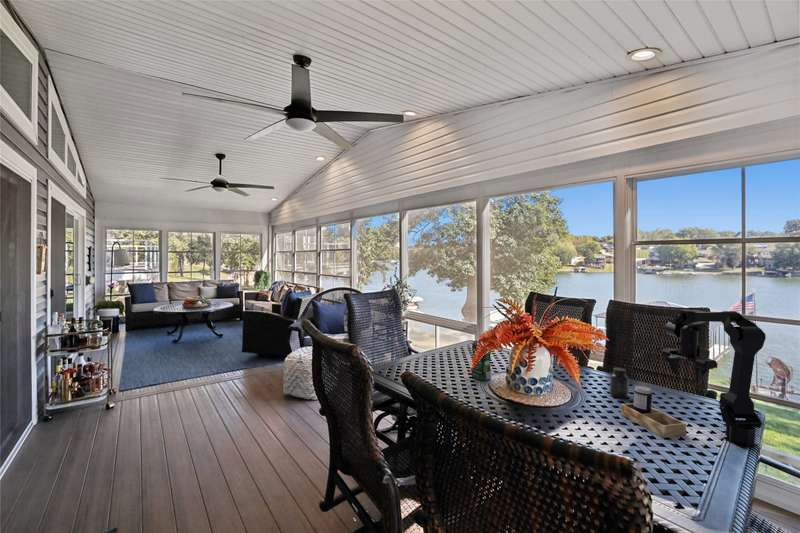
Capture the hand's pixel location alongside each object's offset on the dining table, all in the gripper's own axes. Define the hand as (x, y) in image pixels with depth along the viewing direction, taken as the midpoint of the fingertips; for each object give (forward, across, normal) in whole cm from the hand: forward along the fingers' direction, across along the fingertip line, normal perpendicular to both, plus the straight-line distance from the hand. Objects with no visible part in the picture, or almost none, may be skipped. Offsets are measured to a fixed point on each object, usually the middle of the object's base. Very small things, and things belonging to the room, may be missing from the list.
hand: (686, 378), depth 147 cm
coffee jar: (+13, +51, +66) cm, 84 cm away
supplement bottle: (+13, +18, +15) cm, 27 cm away
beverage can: (+13, -3, +24) cm, 27 cm away
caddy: (+13, -7, +24) cm, 28 cm away
